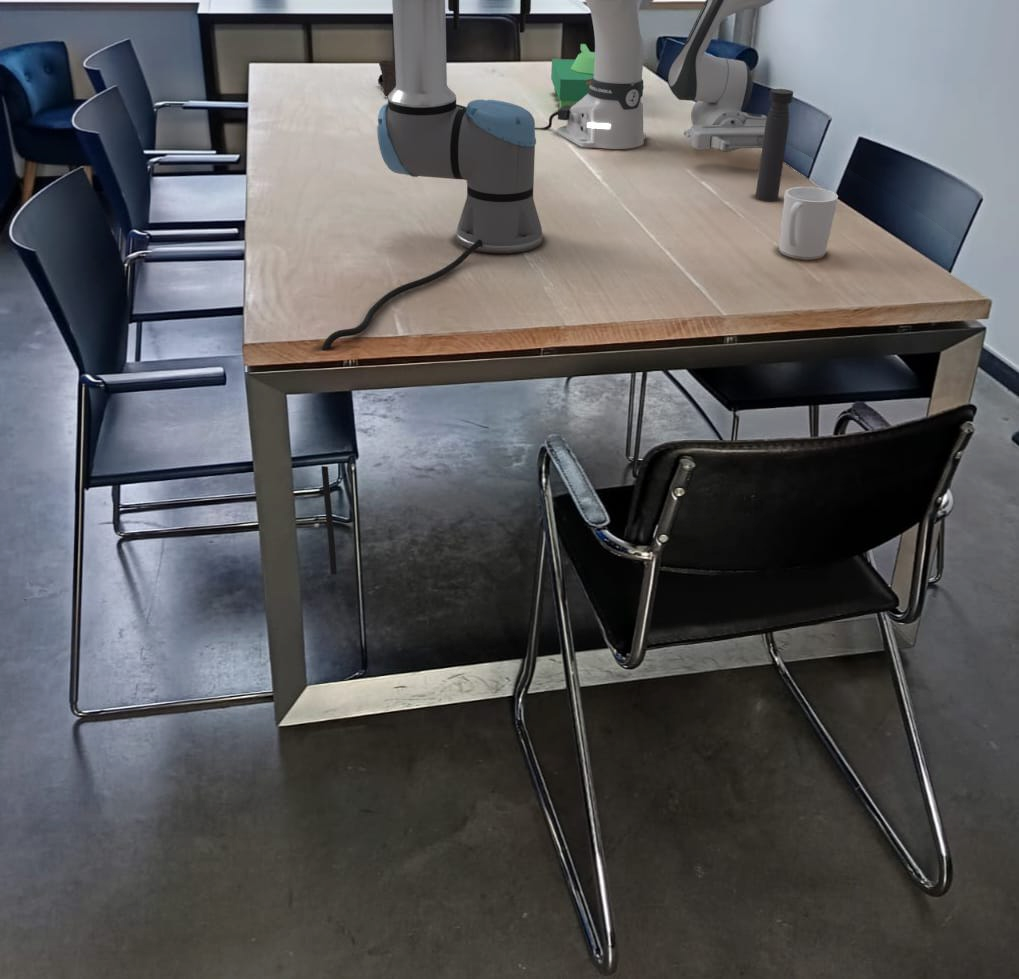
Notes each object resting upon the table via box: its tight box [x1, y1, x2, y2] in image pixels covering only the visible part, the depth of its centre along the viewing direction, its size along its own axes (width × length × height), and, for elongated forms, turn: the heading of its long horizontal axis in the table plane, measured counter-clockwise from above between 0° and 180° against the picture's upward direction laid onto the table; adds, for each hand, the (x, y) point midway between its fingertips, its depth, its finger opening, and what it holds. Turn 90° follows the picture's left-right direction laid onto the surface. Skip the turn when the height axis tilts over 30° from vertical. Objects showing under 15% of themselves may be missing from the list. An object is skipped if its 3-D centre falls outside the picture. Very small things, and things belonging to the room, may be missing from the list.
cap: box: [768, 88, 794, 104], centre depth 211 cm, size 4×4×2 cm
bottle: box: [754, 102, 790, 202], centre depth 216 cm, size 4×4×20 cm
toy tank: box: [550, 43, 595, 109], centre depth 292 cm, size 18×12×35 cm
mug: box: [778, 186, 839, 261], centre depth 190 cm, size 11×9×10 cm
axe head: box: [377, 59, 396, 98], centre depth 299 cm, size 18×8×15 cm
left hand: (489, 30), depth 223 cm, fingers open, 13 cm apart
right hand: (747, 146), depth 231 cm, fingers open, 8 cm apart
